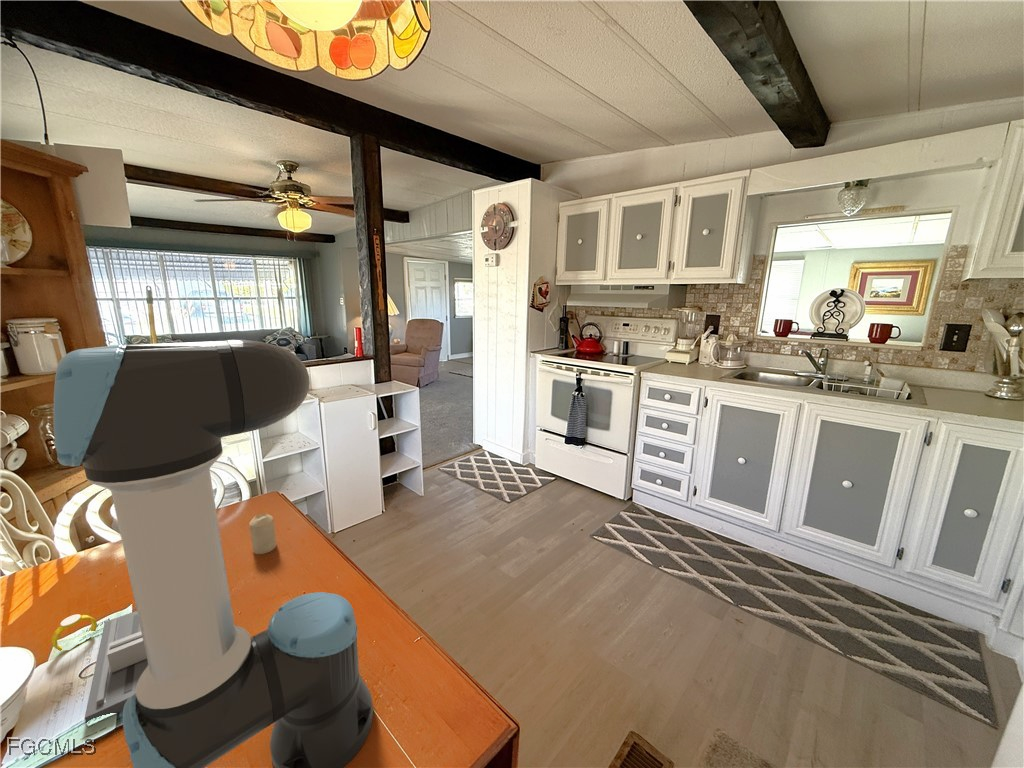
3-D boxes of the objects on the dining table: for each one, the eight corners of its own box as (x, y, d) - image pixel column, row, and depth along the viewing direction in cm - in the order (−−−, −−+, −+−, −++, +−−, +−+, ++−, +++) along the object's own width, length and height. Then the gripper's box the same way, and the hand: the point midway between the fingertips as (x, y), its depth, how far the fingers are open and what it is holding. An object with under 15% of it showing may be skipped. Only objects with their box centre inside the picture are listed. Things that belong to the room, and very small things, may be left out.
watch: (61, 659, 76) (50, 635, 74) (54, 653, 77) (44, 630, 75) (102, 633, 81) (93, 611, 79) (95, 628, 82) (86, 606, 80)
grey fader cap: (149, 657, 74) (145, 639, 73) (111, 672, 71) (106, 654, 70) (149, 646, 76) (145, 628, 75) (113, 660, 73) (109, 642, 72)
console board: (222, 664, 75) (220, 652, 75) (87, 727, 64) (83, 714, 63) (213, 591, 93) (212, 580, 93) (106, 630, 82) (103, 618, 81)
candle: (248, 552, 107) (243, 519, 105) (265, 540, 112) (261, 509, 110) (263, 556, 106) (259, 523, 103) (281, 544, 111) (277, 512, 108)
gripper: (178, 432, 78) (196, 536, 84) (178, 414, 89) (194, 508, 94) (126, 440, 74) (149, 550, 79) (132, 420, 84) (152, 519, 90)
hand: (173, 527), depth 87 cm, fingers closed
